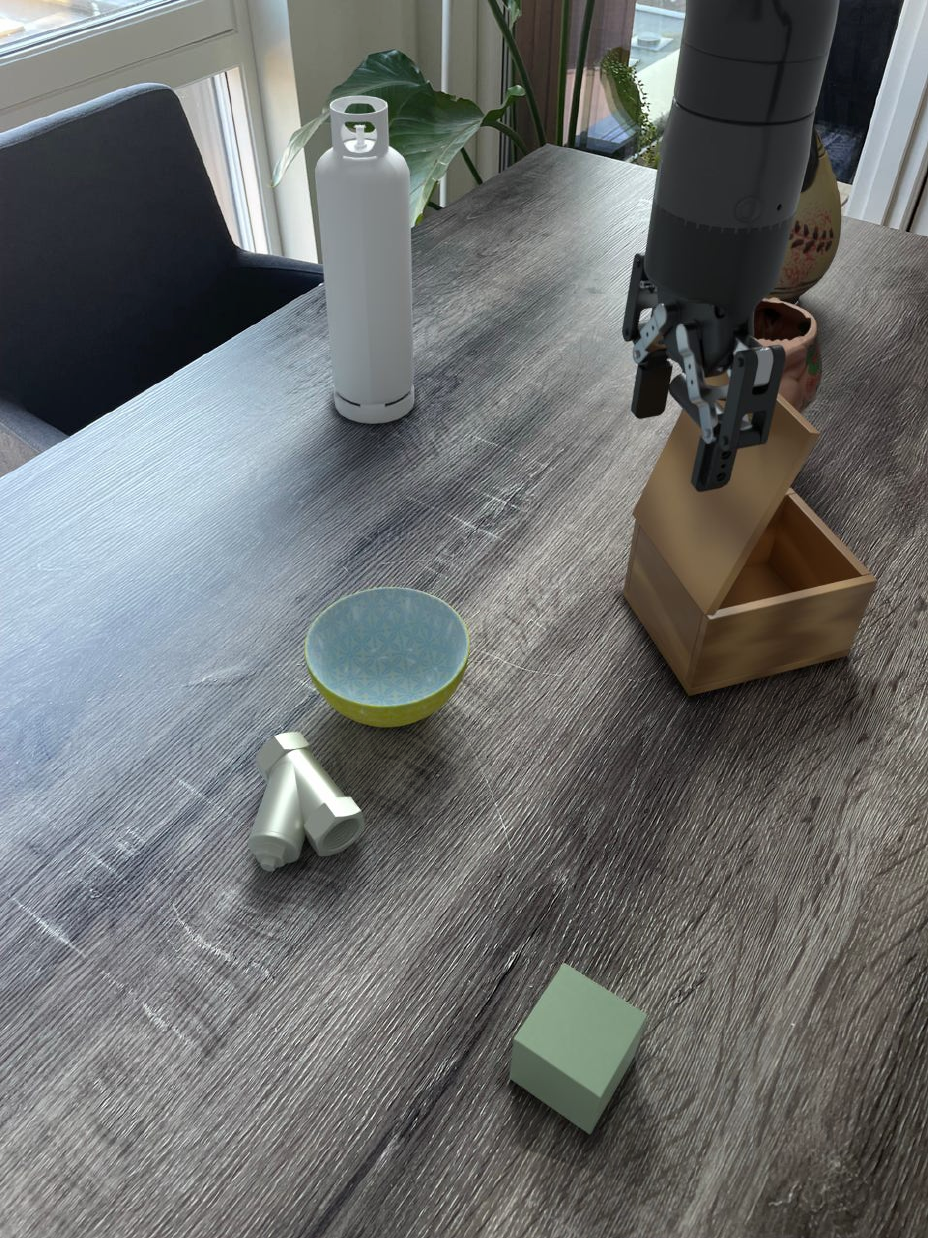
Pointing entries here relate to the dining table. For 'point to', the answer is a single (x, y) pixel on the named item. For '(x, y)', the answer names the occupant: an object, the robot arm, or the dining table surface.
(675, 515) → the lid
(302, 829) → the pipe fitting
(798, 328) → the decorative planter
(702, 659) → the chest
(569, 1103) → the block
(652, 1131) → the dining table surface
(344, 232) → the bottle
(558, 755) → the dining table surface
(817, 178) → the ceramic jug
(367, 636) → the bowl
